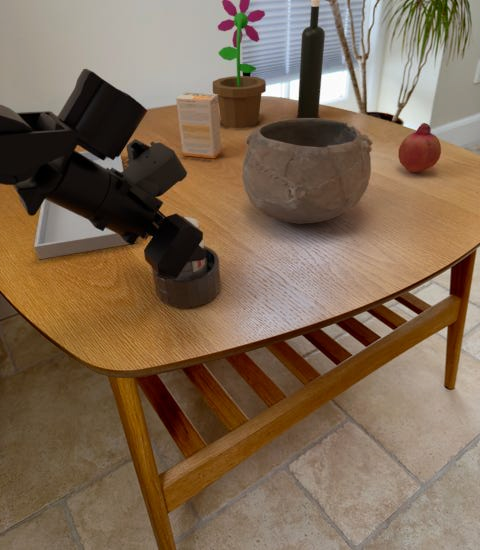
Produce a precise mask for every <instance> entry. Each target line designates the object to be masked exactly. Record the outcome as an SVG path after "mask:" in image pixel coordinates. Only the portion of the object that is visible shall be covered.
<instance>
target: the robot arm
mask: <svg viewBox="0 0 480 550" xmlns="http://www.w3.org/2000/svg"><path fill="white" fill-rule="evenodd" d="M147 113H148V110H147V108H146V107H145V106H144V105H143V104H141V103H140V102H139V101H137V100H136V99H135V98H134V97H133V96H131V95H130V94H129V93H127V92H125V91H122V90H121V89H119V88H117V87H116V86H114V85H113V84H111V83H110V82H108V81H107V80H105V79H103V78H102V77H100V76H99V75H98V74H97V73H96V72H94V71H93V70H90V69H88V68H83V69H82V71H81V72H80V74H79V76H78V77H77V79H76V82H75V86H74V88H73V90H72V92H71V93H70V95H69V97H68V99H67V100H66V102H65V103H64V105H63V106H62V109H61V110H60V111H59V113H58V115H56V114H55V112H53V111H50V110H47V111H44V110H43V111H28V112H27V111H26V112H23V111H21V112H16V111H14V110H13V109H11V108H10V107H7V106H6V105H3V104H0V185H4V186H12V187H13V188H14V190H15V191H16V193H17V195H18V198H19V202H20V204H21V205H22V207H23V208H24V210H25V212H26V213H27V214H28V216H30V217H33V216H35V215H36V214H37V213H38V212H39V211H40V210H39V209H41V205H42V203H43V201H44V200H45V199H46V200H48V201H50V202H52V203H54V204H56V205H58V206H61V207H63V208H65V209H67V210H69V211H71V212H73V213H75V214H77V215H79V216H82V217H84V218H86V219H88V220H89V221H90V222H91V223H92V224H93V226H94V227H95V228H97V229H99V230H101V231H104V229H105V228H107V229H109V230H111V231H113V232H115V233H117V234H119V235H120V236H121V235H122V236H121V237H122V238H123V239H124V240H125V241H126V242H127V243H129V244H128V245H131V246H134V245H135V244H136V243H135V242H137V240H138V238H141V239H142V240H143V241H147V239H148V238H149V237H151V239H150V240H149V242H148V243H147V245H146V246H145V248H144V249H143V254H144V259H145V261H146V263H148V264H149V266H150V267H151V269H152V268H153V269H154V270H155V271H156V272H157V273H158V274H159V275H161V276H163V277H166V278H168V279H170V280H173V279H176V278H177V277H178V276H179V274H180V273H181V271H182V270H183V268H184V267H185V265H186V264H187V262H192V261H200V260H204V258H205V257H206V255H207V252H206V251H205V250H204V249H203V248H202V247H201V246H200V245H199V244H200V243H201V241H202V240H204V232H203V231H202V230H201V229H200V228H199V229H200V230H199V229H198V228H197V227H196V226H194V225H193V224H192V223H191V222H189V221H188V220H186V219H185V218H184V217H185V216H182V215H180V214H179V213H176V212H175V213H173V214H170V215H165V214H164V213H162V211H160V209H161V208H162V206H163V205H164V201H163V200H161V199H160V198H159V197H161V196H163V195H164V194H166V193H167V192H168V191H169V190H170V189H172V188H173V187H174V186H175V185H176V184H177V183H178V182H183V180H185V178H186V177H187V175H188V171H187V170H186V168H185V167H184V165H183V163H182V162H181V160H180V158H179V156H178V155H177V154H176V152H175V151H174V149H172V148H171V147H169V146H168V145H165V144H164V143H163V142H154V141H151V142H150V143H149V144H150V145H148V144H146V143H144V142H142V141H140V140H139V139H137V138H134V139H132V141H131V142H129V141H130V140H131V138H132V137H133V135H134V133H135V132H136V130H137V129H138V127H139V125H140V124H141V123H142V121H143V119H144V117H145V116H146V114H147ZM77 146H78V147H80V148H82V149H84V151H88V152H90V153H91V154H93V155H94V156H96V157H98V158H100V159H101V160H105V159H106V157H108V158H110V159H112V160H114V159H115V157H116V156H117V157H119V156H120V154H122V152H123V151H124V150H125V148H126V154H127V159H128V160H127V161H126V162H125V164H127V167H125V168H124V169H123V170H124V171H123V172H119V171H117V170H116V169H114V168H111V169H109V168H107V169H105V168H104V167H102V166H100V165H99V164H97V163H95V162H94V161H92V160H90V159H89V158H87V157H85V156H84V155H82V154H80V153H79V152H80V151H77V150H76V148H77Z"/></svg>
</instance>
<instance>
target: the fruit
mask: <svg viewBox="0 0 480 550" xmlns="http://www.w3.org/2000/svg"><path fill="white" fill-rule="evenodd" d="M431 131H432V130H431V126H430V125H429V124H428V123H426V122H423V123H421V124H420V125H419V127H417V129H416V131H415V132H412V133H409V134H408V135H407V136H406V137H405V138H404V139H403V140H402V141H401V144H400V145H399V148H398V153H397V154H398V156H397V157H398V160H399V163H400V164H401V166H402V167H404V169H406V170H407V171H409V172H412V173H418V172H422V171H425V170H428V169H430V168H432V167H434V166H435V165H436V164H437V163H438V161H439V160H440V159H441V154H442V146H441V145H442V144H441V142H440V140H439V138H438V136H437V135H435V134H433V133H432V132H431Z"/></svg>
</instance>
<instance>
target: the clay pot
mask: <svg viewBox="0 0 480 550" xmlns="http://www.w3.org/2000/svg"><path fill="white" fill-rule="evenodd" d="M246 144H247V149H246V152H245V155H244V159H243V163H242V175H241V176H242V182H243V187H244V189H245V193H246V195H247V197H248V199H249V201H250V202H251V204H253V206H254V207H255V208H256V209H258V210H259V211H260V212H262V213H263V214H265V215H266V216H267V217H270V218H273V219H275V220H278V221H281V222H286V223H289V224H291V223H292V224H300V225H301V224H315V223H321V222H326V221H328V220H332V219H334V218H336V217H339V216H342V215H344V214H345V213H347V212H348V211H350V210H351V209H352V208H354V207H355V206H356V205H357V204H358V203H359V202H360V201H361V199H362V197H363V196H364V194H365V193H366V191H367V188H368V186H369V183H370V179H371V174H372V164H371V161H372V159H371V152H372V150H373V148H372V145H373V141H372V140H371V139H370V138H369V137H368V135H366V134H364V133H363V134H362V132H361V131H359V130H358V129H357V127H356V126H355V125H350V124H349V123H348V122H345V121H342V120H336V119H329V118H320V117H318V118H287V119H286V118H285V119H280V120H275V121H271V122H267V123H265V124H263V125H260V126H259V127H258V129H253V130H252V131H251V132H250V134H249V135H248V137H247V138H246Z"/></svg>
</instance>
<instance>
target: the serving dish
mask: <svg viewBox="0 0 480 550" xmlns="http://www.w3.org/2000/svg"><path fill="white" fill-rule="evenodd" d="M78 152H79V153H80V154H82V155H84V156H85V157H87V158H89V159H90V160H92V161H94V162H95V163H97V164H99V165H100V166H102V167H104V168H105V169H107V168H109V169H111V168H114V169H116V170H117V171H119V172H123V171H124V170H125V169H124V166H123V160H122V155H121V154H122V153H121V154H120V156H119V157H117V156H116V157H115V159H114V160H112V159H110V158H108V157H106V159H105V160H101V159H100V158H98V157H96V156H94V155H93V154H91V153H90V152H88V151H87V150H84V151H78ZM121 236H122V235H121ZM121 236H120V235H119V234H117V233H115V232H113V231H111V230H109V229H107V228H105V229H104V231H101V230H99V229H97V228H95V227H94V226H93V224H92V223H91V222H90V221H89V220H88V219H86V218H84V217H82V216H79V215H77V214H75V213H73V212H71V211H69V210H67V209H65V208H63V207H61V206H58V205H56V204H54V203H52V202H50V201H48V200H46V199H45V200H44V201H43V203H42V205H41V206H40V210H39V217H38V221H37V228H36V233H35V237H34V238H35V240H34V245H33V248H34V251H35V254H36V256H37V259H38V260H45V259H50V258H51V259H52V258H56V257H61V256H67V255H74V254H79V253H86V252H91V251H98V250H104V249H108V248H109V249H110V248H115V247H122V246H127V245H130V244H129V243H127V242H126V241H125V240H124V239H123V238H122V237H121ZM134 244H137V241H136V242H135V243H134Z"/></svg>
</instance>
